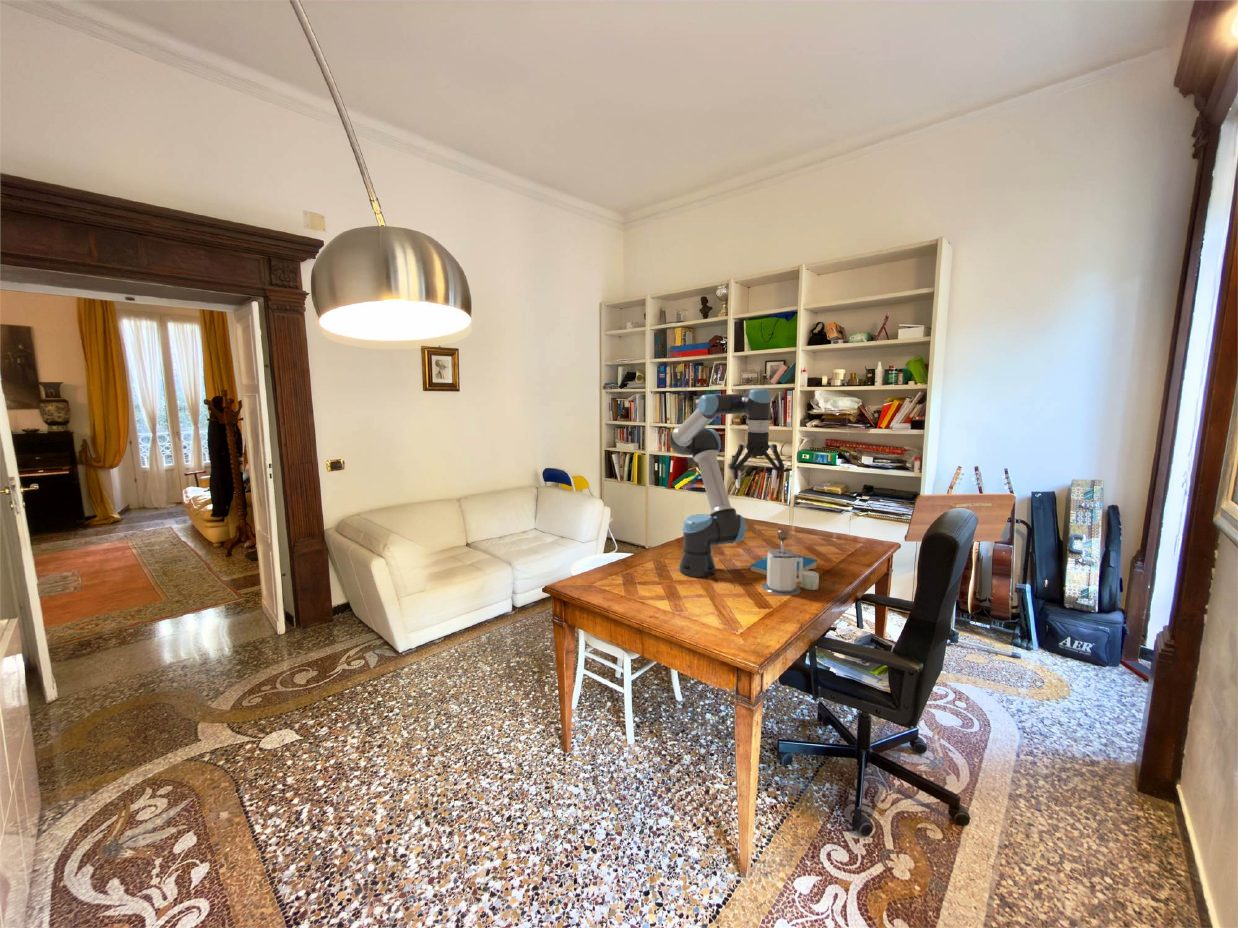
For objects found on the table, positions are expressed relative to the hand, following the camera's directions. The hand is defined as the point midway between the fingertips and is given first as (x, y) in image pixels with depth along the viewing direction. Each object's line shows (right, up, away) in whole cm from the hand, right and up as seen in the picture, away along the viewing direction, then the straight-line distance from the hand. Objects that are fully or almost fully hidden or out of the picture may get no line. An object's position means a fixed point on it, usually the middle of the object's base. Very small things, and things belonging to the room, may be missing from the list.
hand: (755, 487), depth 181 cm
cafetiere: (+11, -38, 0) cm, 39 cm away
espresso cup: (+21, -38, +1) cm, 44 cm away
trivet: (+10, -39, 0) cm, 40 cm away
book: (+18, -36, +21) cm, 45 cm away
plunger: (+9, -31, -1) cm, 33 cm away
